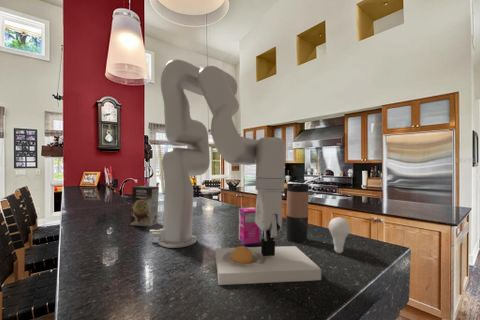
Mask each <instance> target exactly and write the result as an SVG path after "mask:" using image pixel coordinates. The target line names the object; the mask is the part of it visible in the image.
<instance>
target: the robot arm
mask: <svg viewBox="0 0 480 320" xmlns="http://www.w3.org/2000/svg"><path fill="white" fill-rule="evenodd" d="M160 90H161V95H162V100H163V108H164V109H163V110H164V112H163V113H164V115H163V116H164V128H165V129H164V131H165V137H166V140H167V141H168V142H170V143H171V144H175V145H180V146H187V148H185V147H172V148H169V149H167V150H166V151H165V152H164V153H163V155H162V158H161V166H162V172H163V173H162V174H163V183H164V184H163V185H164V189H163V191H164V193H163V196H164V197H163V198H164V199H163V217H162V219H163V221H162V222H163V223H162V228H159V229H149V233H148V234H149V236H151V238H157V237H158V239H157V244H158V245H159V246H161V247H163V248H171V249H174V248H175V249H177V248H178V249H180V248H186V247H189V246H193V245H194V244H195V243H197V236H196V235H194V234H193V216H194V212H193V211H194V186H193V183H192V180H191V176H192V177H193V176H194V177H195V176H201V175H204V174H205V173H206V172H207V171H208V170H209V167H210V164H211V163H210V161H211V160H210V159H211V158H210V157H211V156H210V145H209V144H210V142H209V132H208V129H207V127H206V125H205V124H204V123H203V122H201V121H199V120H197V119H196V120H195V119H192V117H191V111H190V108H191V107H190V103H189V99H188V98H187V95H186V93H185V91H184V90H186V91H188V92H191V93H192V94H193V93H194V94H196V95H199V96H201V97H203V98H204V99H205V102H206V105H208V107H209V110H210V112H211V115H212V118H211V121H210V133H211V137H212V140H213V142H214V144H215V148H217V149H216V150H217V152H218V153H219V155H220V156H221V158H222V159H223V160H224V161H225V162H226V163H228V164H231V165H243V166H245V165H246V166H251V165H252V166H253V165H255V186H254V187H255V190H256V191H257V192H256V199H255V200H256V202H255V208H256V212H255V223H256V224H257V226H258V227H259V228H260V230H261V244H260V247H261V253H262V255H263V256H274V255H275V247H276V238H278V232H280V231H281V230H282V228H283V197H282V196H283V195H282V193H283V192H285V179H286V178H285V177H286V175H285V173H286V171H285V169H286V142H285V140H284V139H283V138H281V137H277V136H276V137H274V136H272V137H271V136H270V137H269V136H267V137H261V138H259V139H256V138H255V139H254V138H249V137H247V136H246V137H245V136H241V135H240V133H239V132H238V129H237V128H236V125H235V123H234V121H233V116H235V115H236V114H237V113H238V111H239V108H240V104H239V101H238V99H237V98H236V94H237V92H238V82H237V80H236V78H235V77H234V76H233V75H231V74H229V73H228V72H226V71H224V70H223V69H221V68H219V67H217V66H215V65H206V66H203V67H202V68H199V67H197V66H196V65H193V64H192V63H190V62H188V61H185V60H182V59H178V58H177V59H172V60H169V61H168V62H167V63H166V64H165V66H164V67H163V70H162V71H161V76H160Z"/></svg>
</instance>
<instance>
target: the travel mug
mask: <svg viewBox="0 0 480 320" xmlns="http://www.w3.org/2000/svg"><path fill="white" fill-rule="evenodd" d="M286 186H287V187H286V188H287V189H286V191H287V192H286V217H285V218H286V223H285V224H286V239H287V241H288V242H289V241H290V242H292V243H299V244H300V243H306V242H307V241H308V227H309V222H308V221H309V184H306V183H298V182H297V183H295V182H293V183H292V182H291V183H287V185H286Z"/></svg>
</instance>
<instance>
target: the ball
mask: <svg viewBox="0 0 480 320" xmlns="http://www.w3.org/2000/svg"><path fill="white" fill-rule="evenodd" d="M247 247H248V246H244V245H239V246H237V247H234V248H235V249H234V251H233V252H232V255H231V260H232V261H234V262H235V263H240V264H251V263H252V259H253V256H252V253H251V251H250V250H249V249H248V248H247Z"/></svg>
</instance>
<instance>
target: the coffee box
mask: <svg viewBox="0 0 480 320" xmlns="http://www.w3.org/2000/svg"><path fill="white" fill-rule="evenodd" d="M131 190H132V193H131V211H130V212H131V213H130V215H131V217H130V220H131V221H130V225H131V226H141V227H142V226H143V227H152V226H154V225H156V224H158V215H159V214H158V213H159V193H160V192H159V191H160V186H152V185H151V186H149V185H136V186H135V185H134V186H132V188H131Z"/></svg>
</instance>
